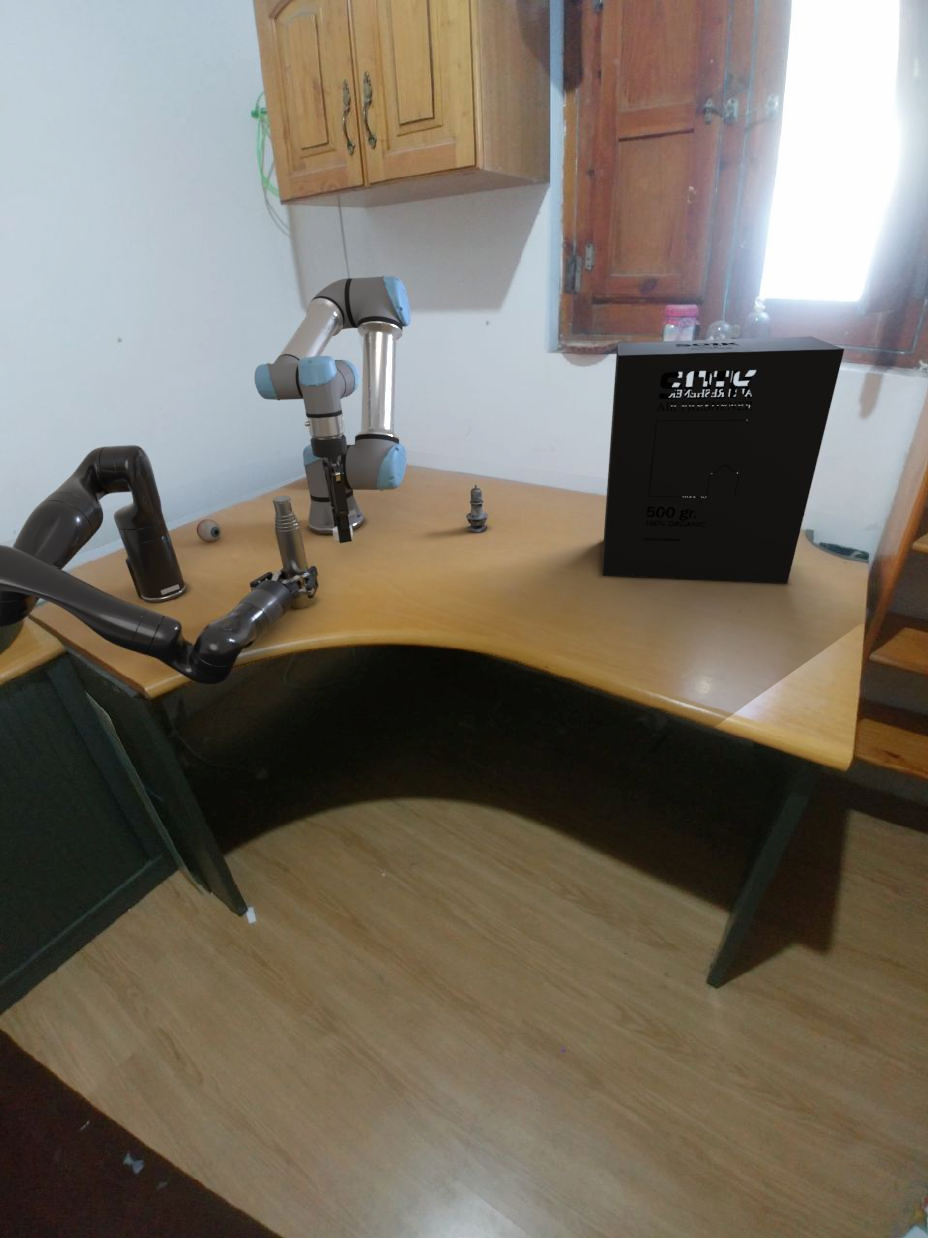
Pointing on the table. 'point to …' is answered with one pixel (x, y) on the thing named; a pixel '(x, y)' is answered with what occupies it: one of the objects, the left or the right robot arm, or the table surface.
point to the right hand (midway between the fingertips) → (343, 537)
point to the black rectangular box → (714, 456)
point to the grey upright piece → (476, 512)
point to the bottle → (290, 545)
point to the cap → (335, 533)
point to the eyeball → (208, 530)
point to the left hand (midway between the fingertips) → (302, 569)
